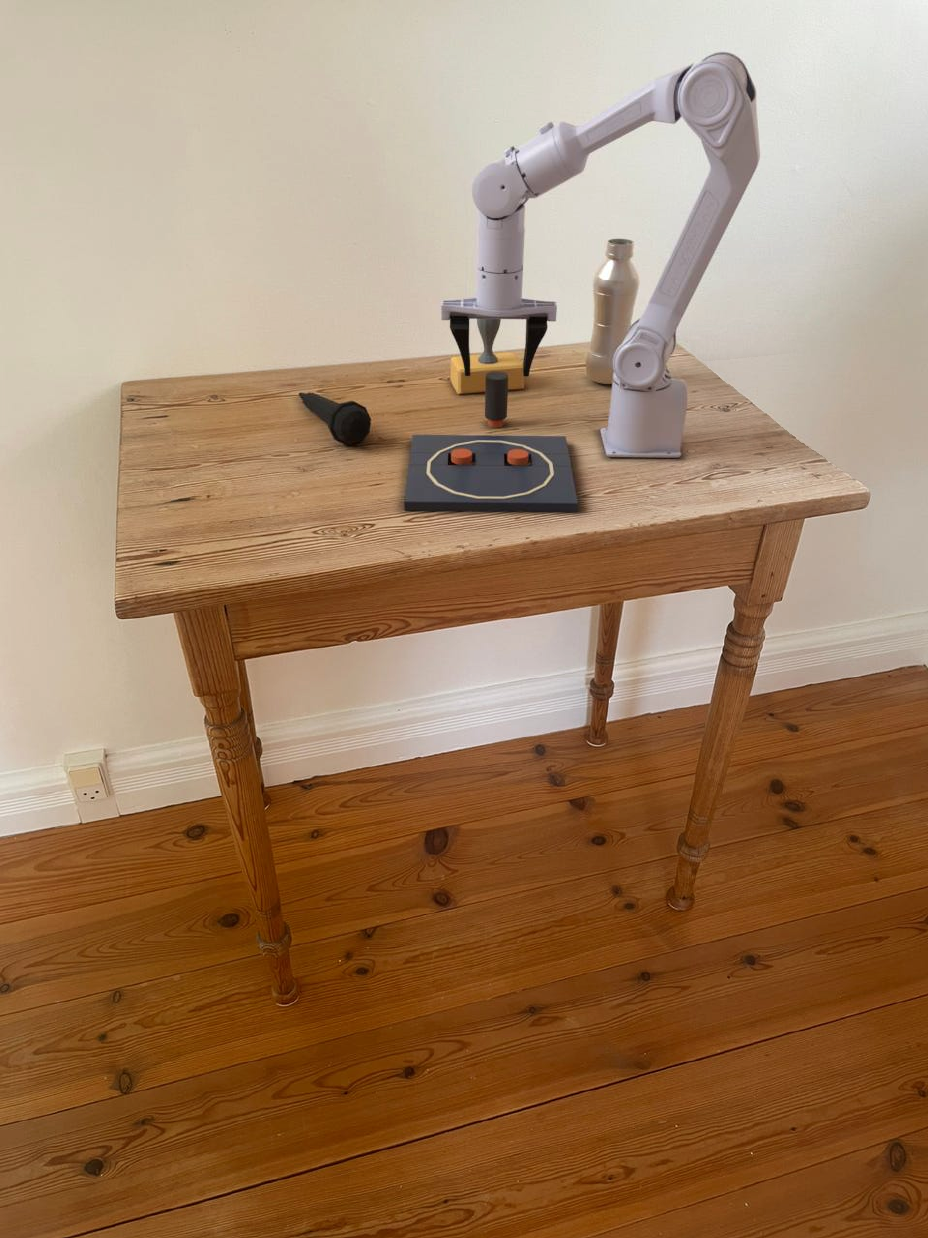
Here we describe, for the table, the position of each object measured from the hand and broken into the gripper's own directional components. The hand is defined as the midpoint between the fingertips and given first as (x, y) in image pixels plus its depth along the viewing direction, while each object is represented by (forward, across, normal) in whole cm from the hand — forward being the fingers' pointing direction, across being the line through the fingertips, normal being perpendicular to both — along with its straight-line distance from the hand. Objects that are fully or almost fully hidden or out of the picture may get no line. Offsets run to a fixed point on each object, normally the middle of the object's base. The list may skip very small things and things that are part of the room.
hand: (496, 373), depth 122 cm
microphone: (+8, +22, 0) cm, 23 cm away
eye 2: (+6, -3, +13) cm, 15 cm away
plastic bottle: (+7, -17, -16) cm, 25 cm away
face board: (+7, +1, +15) cm, 17 cm away
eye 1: (+7, +4, +13) cm, 15 cm away
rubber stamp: (+7, +1, -14) cm, 16 cm away
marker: (+7, 0, 0) cm, 7 cm away
